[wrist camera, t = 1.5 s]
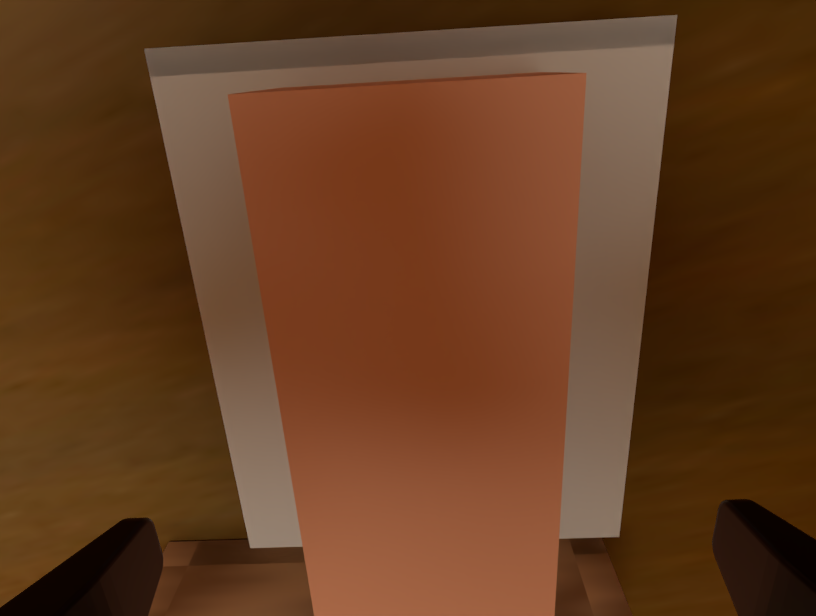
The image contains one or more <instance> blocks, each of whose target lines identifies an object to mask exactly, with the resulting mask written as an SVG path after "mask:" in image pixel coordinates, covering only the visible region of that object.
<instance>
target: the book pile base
mask: <svg viewBox="0 0 816 616" xmlns="http://www.w3.org/2000/svg"><path fill="white" fill-rule="evenodd" d="M676 22H677V15H669V16H653V17H637V18H622V19H606V20H590V21H574V22H558V23H543V24H527V25H511V26H495V27H480V28H464V29H448V30H432V31H416V32H401V33H385V34H369V35H353V36H337V37H322V38H306V39H290V40H274V41H258V42H243V43H227V44H211V45H195V46H180V47H164V48H148V49H144V51H145V55H146V60H147V65H148V69H149V74H150V79H151V84H152V88H153V93H154V98H155V102H156V107H157V112H158V116H159V121H160V126H161V131H162V135H163V140H164V145H165V149H166V154H167V159H168V164H169V168H170V173H171V178H172V182H173V187H174V192H175V196H176V201H177V206H178V211H179V215H180V220H181V225H182V229H183V234H184V239H185V243H186V248H187V253H188V258H189V262H190V267H191V272H192V276H193V281H194V286H195V290H196V295H197V300H198V305H199V309H200V314H201V319H202V323H203V328H204V333H205V338H206V342H207V347H208V352H209V356H210V361H211V366H212V370H213V375H214V380H215V385H216V389H217V394H218V399H219V403H220V408H221V413H222V417H223V422H224V427H225V432H226V436H227V441H228V446H229V450H230V455H231V460H232V464H233V469H234V474H235V479H236V483H237V488H238V493H239V497H240V502H241V507H242V512H243V516H244V521H245V526H246V530H247V535H248V540H249V544H250V548H272V547H303V546H302V540H301V534H300V528H299V522H298V516H297V510H296V504H295V498H294V492H293V486H292V480H291V474H290V468H289V462H288V456H287V450H286V444H285V438H284V432H283V426H282V420H281V413H280V407H279V401H278V395H277V389H276V383H275V377H274V371H273V365H272V359H271V353H270V347H269V341H268V335H267V329H266V323H265V317H264V311H263V305H262V299H261V293H260V287H259V281H258V275H257V269H256V263H255V257H254V251H253V245H252V239H251V233H250V227H249V221H248V215H247V209H246V203H245V197H244V191H243V185H242V179H241V173H240V167H239V161H238V155H237V149H236V143H235V137H234V131H233V125H232V119H231V113H230V107H229V101H228V95H227V94H235V93H242V92H250V91H258V90H266V89H274V88H284V87H300V86H317V85H334V84H350V83H367V82H383V81H400V80H417V79H433V78H450V77H466V76H483V75H500V74H516V73H533V72H564V73H586V90H585V107H584V124H583V141H582V158H581V175H580V192H579V209H578V226H577V243H576V260H575V277H574V294H573V311H572V328H571V345H570V362H569V379H568V396H567V413H566V430H565V447H564V464H563V481H562V498H561V515H560V532H559V539H567V538H599V537H619V534H620V525H621V516H622V507H623V498H624V489H625V480H626V471H627V462H628V453H629V444H630V435H631V426H632V417H633V408H634V399H635V390H636V381H637V372H638V363H639V354H640V345H641V336H642V327H643V318H644V309H645V300H646V291H647V282H648V273H649V264H650V255H651V246H652V237H653V228H654V219H655V210H656V201H657V192H658V183H659V174H660V165H661V156H662V147H663V138H664V129H665V120H666V111H667V102H668V93H669V84H670V75H671V66H672V57H673V48H674V39H675V31H676Z"/></svg>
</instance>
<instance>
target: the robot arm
mask: <svg viewBox="0 0 816 616" xmlns="http://www.w3.org/2000/svg"><path fill="white" fill-rule="evenodd" d="M712 546H713V552H714V556H715V558H716V561H717V564H718V566H719V569H720V571H721V574H722V576H723V579H724V581H725V584H726V586H727V589H728V591H729V594H730V596H731V599H732V601H733V604H734V606H735V609H736V611H737V614H738V616H816V540H815V539H814V538H812V537H811V536H809V535H807V534H806V533H804V532H803V531H801V530H799V529H798V528H796V527H794V526H793V525H791V524H790V523H788V522H786V521H785V520H783V519H781V518H780V517H778V516H777V515H775V514H773V513H772V512H770V511H768V510H767V509H765V508H764V507H762V506H760V505H759V504H757V503H755V502H753V501H751V500H747V499H738V500H725V501H722V502H721V504H720V505H719V508H718V513H717V518H716V524H715V529H714V534H713V541H712ZM162 570H163V553H162V550H161V547H160V543H159V540H158V536H157V533H156V529H155V526H154V523H153V522H152V520H151V519H149V518H127V519H123V520H122V521H120V522H118V523H117V524H116V525H114V526H113V527H111V528H110V529H109V530H107V531H106V532H105V533H103V534H102V535H100V536H99V537H98V538H96V539H95V540H93V541H92V542H91V543H89V544H88V545H86V546H85V547H84V548H82V549H81V550H80V551H78V552H77V553H75V554H74V555H73V556H71V557H70V558H68V559H67V560H66V561H64V562H63V563H61V564H60V565H59V566H57V567H56V568H55V569H53V570H52V571H50V572H49V573H48V574H46V575H45V576H43V577H42V578H41V579H39V580H38V581H37V582H35V583H34V584H32V585H31V586H30V587H28V588H27V589H25V590H24V591H23V592H21V593H20V594H18V595H17V596H16V597H14V598H13V599H12V600H10V601H9V602H7V603H6V604H5V605H3V606H2V607H0V616H148V615H149V612H150V609H151V606H152V602H153V599H154V596H155V593H156V590H157V586H158V583H159V580H160V577H161V574H162Z"/></svg>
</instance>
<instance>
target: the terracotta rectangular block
mask: <svg viewBox="0 0 816 616" xmlns="http://www.w3.org/2000/svg"><path fill="white" fill-rule="evenodd" d="M585 90H586V73H564V72H533V73H516V74H500V75H483V76H466V77H450V78H433V79H417V80H400V81H383V82H367V83H350V84H334V85H317V86H300V87H284V88H274V89H266V90H258V91H250V92H242V93H235V94H227V95H228V101H229V107H230V113H231V119H232V125H233V131H234V137H235V143H236V149H237V155H238V161H239V167H240V173H241V179H242V185H243V191H244V197H245V203H246V209H247V215H248V221H249V227H250V233H251V239H252V245H253V251H254V257H255V263H256V269H257V275H258V281H259V287H260V293H261V299H262V305H263V311H264V317H265V323H266V329H267V335H268V341H269V347H270V353H271V359H272V365H273V371H274V377H275V383H276V389H277V395H278V401H279V407H280V413H281V420H282V426H283V432H284V438H285V444H286V450H287V456H288V462H289V468H290V474H291V480H292V486H293V492H294V498H295V504H296V510H297V516H298V522H299V528H300V534H301V540H302V546H303V552H304V558H305V564H306V570H307V576H308V582H309V588H310V594H311V600H312V606H313V612H314V616H555V600H556V583H557V566H558V549H559V532H560V515H561V498H562V481H563V464H564V447H565V430H566V413H567V396H568V379H569V362H570V345H571V328H572V311H573V294H574V277H575V260H576V243H577V226H578V209H579V192H580V175H581V158H582V141H583V124H584V107H585Z"/></svg>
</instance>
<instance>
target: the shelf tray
mask: <svg viewBox="0 0 816 616" xmlns="http://www.w3.org/2000/svg"><path fill="white" fill-rule="evenodd" d="M148 616H314V612H313V606H312V600H311V594H310V588H309V582H308V576H307V570H306V564H305V558H304V552H303V547H272V548H250V544H249V540H248V539H244V540H212V541H180V542H169V543H168V545H167V546H166V548H165V550H164V552H163V570H162V574H161V577H160V580H159V583H158V586H157V590H156V593H155V596H154V599H153V602H152V606H151V609H150V612H149V615H148ZM555 616H632V613H631V610H630V608H629V605H628V603H627V600H626V598H625V595H624V593H623V590H622V588H621V585H620V583H619V580H618V577H617V575H616V572H615V570H614V567H613V565H612V562H611V560H610V557H609V555H608V552H607V549H606V547H605V544H604V542H603V539H602V537H599V538H567V539H559V549H558V566H557V583H556V600H555Z"/></svg>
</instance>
